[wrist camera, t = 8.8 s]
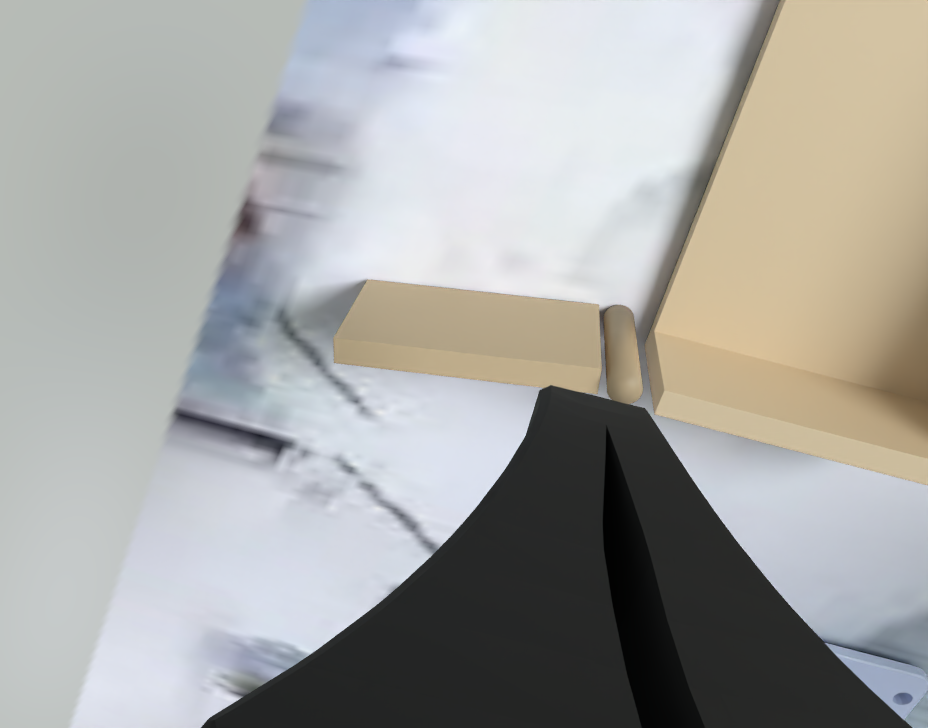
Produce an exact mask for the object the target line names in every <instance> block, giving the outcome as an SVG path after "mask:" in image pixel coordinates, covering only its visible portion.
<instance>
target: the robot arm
mask: <svg viewBox="0 0 928 728" xmlns="http://www.w3.org/2000/svg"><path fill="white" fill-rule="evenodd" d="M927 691H928V678H927V675H926V673H925V672H924V671H923V670H922V669H921V668H918V667H916V666H912V665H909V664H905V663H901V662H897V661H893V660H889V659H885V658H882V657H878V656H874V655H870V654H866V653H862V652H858V651H855V650H851V649H847V648H843V647H839V646H835V645H832V644H828V643H824V642H823V641H822V640H821V639H820V638H819V636H818V635H817V634H816V633H815V632H814V631H813V630H812V629H811V628H810V627H809V626H808V625H807V624H806V623H805V622H804V620H803V619H802V618H801V617H800V616H799V615H798V614H797V613H796V612H795V611H794V610H793V609H792V608H791V606H790V605H789V604H788V603H787V602H786V601H785V600H784V598H783V597H782V596H781V595H780V594H779V593H778V592H777V590H776V589H775V588H774V587H773V586H772V585H771V583H770V582H769V581H768V580H767V578H766V577H765V576H764V575H763V573H762V572H761V571H760V570H759V568H758V567H757V566H756V565H755V563H754V562H753V561H752V560H751V558H750V557H749V556H748V555H747V553H746V552H745V551H744V550H743V549H742V547H741V546H740V545H739V544H738V542H737V541H736V540H735V538H734V537H733V536H732V534H731V533H730V532H729V530H728V529H727V528H726V526H725V525H724V524H723V522H722V521H721V520H720V518H719V517H718V515H717V514H716V513H715V511H714V510H713V508H712V507H711V506H710V504H709V503H708V501H707V500H706V499H705V497H704V496H703V494H702V493H701V491H700V490H699V489H698V487H697V486H696V484H695V483H694V481H693V480H692V478H691V477H690V475H689V474H688V472H687V471H686V469H685V468H684V466H683V465H682V463H681V462H680V460H679V459H678V457H677V456H676V454H675V453H674V451H673V450H672V448H671V447H670V445H669V443H668V442H667V440H666V439H665V437H664V436H663V434H662V433H661V431H660V430H659V428H658V427H657V425H656V424H655V422H654V421H653V419H652V418H651V416H650V415H649V413H648V412H647V411H646V409H645V408H641V407H637V406H633V405H629V404H625V403H621V402H617V401H613V400H609V399H605V398H601V397H597V396H593V395H589V394H585V393H581V392H577V391H573V390H569V389H565V388H561V387H557V386H553V385H550V386H548V387H546V388H544V389H542V390H540V391H539V394H538V398H537V401H536V404H535V407H534V411H533V414H532V417H531V420H530V424H529V427H528V430H527V433H526V436H525V438H524V440H523V441H522V443H521V445H520V446H519V448H518V449H517V451H516V453H515V454H514V456H513V458H512V459H511V461H510V463H509V464H508V466H507V467H506V469H505V470H504V472H503V473H502V475H501V476H500V477H499V478H498V480H497V481H496V482H495V484H494V485H493V486H492V488H491V489H490V490H489V492H488V493H487V494H486V496H485V497H484V498H483V500H482V501H481V502H480V503H479V505H478V506H477V507H476V508H475V510H474V511H473V512H472V513H471V514H470V516H469V517H468V518H467V519H466V520H465V521H464V523H463V524H462V525H461V526H460V527H459V528H458V529H457V530H456V531H455V533H454V534H453V535H452V536H451V537H450V538H449V539H448V540H447V541H446V542H445V543H444V544H443V545H442V546H441V547H440V548H439V549H438V550H437V551H436V552H435V553H434V554H433V555H432V556H431V557H430V558H429V559H428V560H427V561H426V562H425V563H424V564H423V565H422V566H420V567H419V568H418V569H417V570H416V571H415V572H414V573H413V574H412V575H411V576H410V577H409V578H408V579H406V580H405V581H404V582H403V583H402V584H401V585H400V586H399V587H398V588H396V589H395V590H394V591H393V592H392V593H391V594H389V595H388V596H387V597H386V598H385V599H384V600H382V601H381V602H380V603H379V604H377V605H376V606H375V607H374V608H372V609H371V610H370V611H368V612H367V613H366V614H364V615H363V616H362V617H360V618H359V619H358V620H356V621H355V622H354V623H352V624H351V625H350V626H348V627H347V628H346V629H344V630H343V631H342V632H340V633H339V634H338V635H336V636H335V637H334V638H332V639H331V640H330V641H328V642H327V643H326V644H324V645H323V646H322V647H320V648H319V649H318V650H316V651H315V652H313V653H312V654H311V655H309V656H308V657H306V658H305V659H303V660H302V661H300V662H299V663H297V664H296V665H294V666H293V667H291V668H289V669H288V670H286V671H285V672H283V673H281V674H280V675H278V676H276V677H275V678H273V679H272V680H270V681H268V682H267V683H265V684H264V685H262V686H260V687H259V688H257V689H256V690H254V691H252V692H251V693H249V694H247V695H246V696H244V697H243V698H241V699H239V700H238V701H236V702H235V703H233V704H231V705H230V706H228V707H227V708H225V709H223V710H222V711H220V712H218V713H217V714H215V715H213V716H212V717H210V718H209V719H208V720H207V721H206V722H205V724H204V725H203V726H202V727H201V728H912V727H911V726H910V725H909V724H908V723H907V722H906V721H904V719H905V718H906V717H907V715H908V714H909V713H910V712H911V711H912V709H913V708H914V707H915V706H916V705H917V703H918V702H919V701H920V700H921V699H922V697H923V696H924V695H925V694H926V693H927Z"/></svg>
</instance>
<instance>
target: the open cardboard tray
mask: <svg viewBox="0 0 928 728" xmlns="http://www.w3.org/2000/svg"><path fill="white" fill-rule="evenodd" d="M644 346H645V352H646V359H647V366H648V373H649V380H650V387H651V394H652V401H653V408H654V414H655V415H659V416H663V417H667V418H671V419H675V420H678V421H682V422H686V423H690V424H694V425H698V426H701V427H705V428H709V429H713V430H717V431H721V432H725V433H728V434H732V435H736V436H740V437H744V438H748V439H751V440H755V441H759V442H763V443H767V444H771V445H775V446H778V447H782V448H786V449H790V450H794V451H798V452H802V453H805V454H809V455H813V456H817V457H821V458H825V459H828V460H832V461H836V462H840V463H844V464H848V465H852V466H855V467H859V468H863V469H867V470H871V471H875V472H879V473H882V474H886V475H890V476H894V477H898V478H902V479H905V480H909V481H913V482H917V483H921V484H925V485H928V0H780V2H779V4H778V7H777V10H776V12H775V15H774V17H773V20H772V22H771V25H770V27H769V30H768V32H767V35H766V38H765V40H764V43H763V45H762V48H761V50H760V53H759V55H758V58H757V60H756V63H755V65H754V68H753V71H752V73H751V76H750V78H749V81H748V83H747V86H746V88H745V91H744V93H743V96H742V99H741V101H740V104H739V106H738V109H737V111H736V114H735V116H734V119H733V121H732V124H731V126H730V129H729V132H728V134H727V137H726V139H725V142H724V144H723V147H722V149H721V152H720V154H719V157H718V159H717V162H716V165H715V167H714V170H713V172H712V175H711V177H710V180H709V182H708V185H707V187H706V190H705V193H704V195H703V198H702V200H701V203H700V205H699V208H698V210H697V213H696V215H695V218H694V220H693V223H692V226H691V228H690V231H689V233H688V236H687V238H686V241H685V243H684V246H683V248H682V251H681V254H680V256H679V259H678V261H677V264H676V266H675V269H674V271H673V274H672V276H671V279H670V281H669V284H668V287H667V289H666V292H665V294H664V297H663V299H662V302H661V304H660V307H659V309H658V312H657V314H656V317H655V320H654V322H653V325H652V327H651V330H650V332H649V335H648V337H647V340H646V342H645V345H644Z"/></svg>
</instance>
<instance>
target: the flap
mask: <svg viewBox="0 0 928 728" xmlns="http://www.w3.org/2000/svg"><path fill="white" fill-rule="evenodd" d="M603 322H604V341H605V359H606V378H607V393H608V396H609V397H610V398H611V399H612V400H613V401H617V402H621V403H625V404H631V403H634V402H635V401H637V400H638V399H639V398H640V397H641V395H642V392H643V385H642V377H641V370H640V362H639V354H638V346H637V339H636V331H635V323H634V316H633V313H632V311H631V310H630V309H629V308H628V307H626V306H623V305H615V306H612V307H610V308H609V309H608V310H607V311H606V312H605V314H604V317H603ZM333 340H334V363H339V364H347V365H356V366H364V367H372V368H381V369H389V370H398V371H406V372H415V373H423V374H432V375H440V376H449V377H457V378H466V379H474V380H483V381H491V382H499V383H508V384H516V385H525V386H533V387H542V388H546V387H548V386H550V385H553V386H557V387H561V388H565V389H569V390H573V391H577V392H584V393H593V394H598V388H599V382H600V376H601V370H602V363H601V341H600V318H599V305H598V304H588V303H579V302H570V301H561V300H552V299H542V298H533V297H524V296H515V295H506V294H496V293H487V292H478V291H469V290H460V289H451V288H441V287H432V286H423V285H414V284H405V283H395V282H386V281H377V280H368V279H367V281H366V283H365V285H364V286H363V288H362V290H361V291H360V293H359V295H358V297H357V298H356V300H355V302H354V303H353V305H352V307H351V309H350V310H349V312H348V314H347V315H346V317H345V319H344V321H343V322H342V324H341V326H340V327H339V329H338V331H337V333H336V334H335V336H334V338H333Z"/></svg>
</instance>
